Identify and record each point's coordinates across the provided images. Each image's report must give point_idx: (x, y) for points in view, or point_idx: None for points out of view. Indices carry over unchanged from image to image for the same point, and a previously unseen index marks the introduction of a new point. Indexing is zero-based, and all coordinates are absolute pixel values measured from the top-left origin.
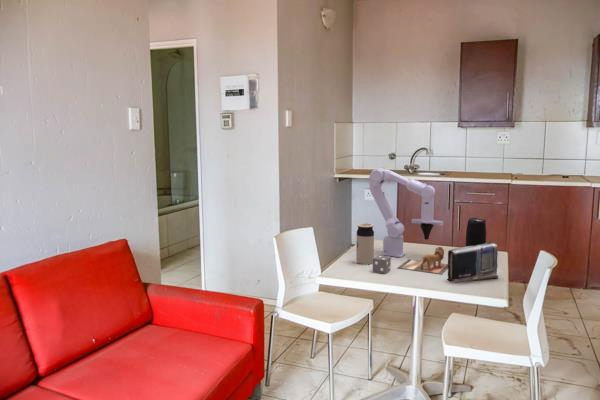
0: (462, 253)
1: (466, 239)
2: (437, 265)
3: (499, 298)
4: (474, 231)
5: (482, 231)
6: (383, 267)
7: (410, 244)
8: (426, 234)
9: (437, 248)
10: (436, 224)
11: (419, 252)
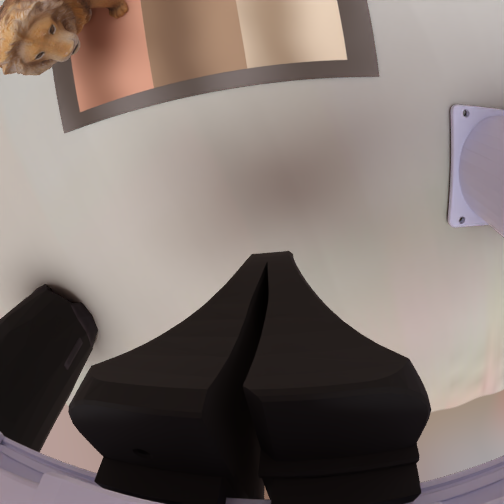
0: None
1: (19, 375)
2: (115, 47)
3: None
4: None
5: None
6: None
7: (438, 401)
8: (251, 285)
9: (15, 3)
10: (38, 464)
11: (372, 308)
